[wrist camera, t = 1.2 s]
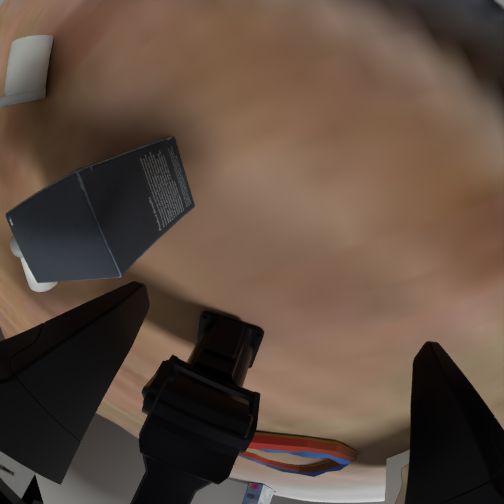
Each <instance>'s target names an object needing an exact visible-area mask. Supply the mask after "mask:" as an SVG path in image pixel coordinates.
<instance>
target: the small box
mask: <svg viewBox="0 0 504 504" xmlns="http://www.w3.org/2000/svg"><path fill="white" fill-rule="evenodd" d="M194 206H195V205H194V201H193V198H192V195H191V191H190V188H189V185H188V182H187V178H186V175H185V171H184V168H183V165H182V161H181V158H180V155H179V151H178V148H177V144H176V140H175V138H174V137H173V136H170V137H167V138H164V139H161V140H158V141H155V142H152V143H149V144H146V145H144V146H141V147H138V148H135V149H132V150H129V151H127V152H124V153H121V154H118V155H116V156H113V157H111V158H108V159H105V160H103V161H101V162H98V163H94V164H92V165H89V166H85V167H82V168H80V169H77V170H75V171H74V172H72V173H70V174H68V175H66V176H64V177H62V178H60V179H59V180H57V181H55V182H53V183H52V184H50V185H48V186H47V187H45V188H43V189H42V190H40V191H38V192H37V193H35V194H34V195H32V196H30V197H29V198H27V199H26V200H25V201H23V202H21V203H20V204H18V205H17V206H15V207H14V208H13V209H11V210H10V211H8V212H7V213H6V215H5V216H6V218H7V221H8V223H9V226H10V228H11V230H12V233H13V235H14V237H15V240H16V242H17V244H18V246H19V249H20V251H21V253H22V255H23V257H24V259H25V261H26V263H27V265H28V267H29V269H30V271H31V272H32V274H33V276H34V278H35V280H36V282H37V283H49V282H63V281H78V280H93V279H108V278H121V277H122V275H123V274H124V273H125V272H126V271H127V270H128V269H129V268H130V267H131V266H132V265H133V264H134V263H135V262H136V261H137V260H138V259H139V258H140V257H141V256H142V255H143V254H144V253H145V252H146V251H147V250H148V249H149V248H150V247H151V246H152V245H153V244H154V243H155V242H156V241H158V240H159V239H160V238H161V237H162V236H163V235H164V234H165V233H166V232H167V231H168V230H169V229H170V228H171V227H172V226H174V225H175V224H176V223H177V222H178V221H179V220H180V219H181V218H182V217H184V216H185V215H186V214H187V213H188V212H189V211H190V210H191V209H192V208H194Z"/></svg>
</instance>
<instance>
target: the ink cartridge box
mask: <svg viewBox="0 0 504 504" xmlns="http://www.w3.org/2000/svg"><path fill="white" fill-rule="evenodd" d="M273 491H274V490H273V489H271V488H269V487H267V486H266V485H264V484H258V483H251V482H249V483H248V487H247V490H246V493H245V496H244V499H243V502H242V504H270V502H271V498H272V495H273Z"/></svg>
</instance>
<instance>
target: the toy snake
mask: <svg viewBox="0 0 504 504" xmlns="http://www.w3.org/2000/svg"><path fill="white" fill-rule="evenodd" d="M248 448H253V449H258V450H261V451H265V452H273V453H289V454H293V455H297V456H301V457H310V458H330V459H331V460H329V461H326V462H323V463H319V464H316V465H306V466H300V465H292V464H285V463H280V462H276V461H272V460H268V459H265V458H263V457H261V456H258V455H256V454H253V453H249V452H244V453H242V454H238V456H241V457H244V458H247V459H249V460H252V461H255V462H258V463H260V464H263V465H266V466H268V467H271V468H274V469H276V470H279V471H282V472H289V473H296V474H302V475H307V476H312V477H314V476H317V475H320V474H323V473H325V472H328V471H338V470H341V469H343V468H344V467H346V466H347V465H348V464H350V463H351V462H352V461H354V460H356V458H357V453H356V452H355V451H354V450H353V449H351V448H349V447H348V446H346V445H344V444H342V443H339V442H337V441H331V440H324V439H317V438H311V437H302V436H292V435H281V434H272V433H263V432H255V434H254V437H253V439H252V441H251V443H250V445H249V447H248ZM234 464H235V463H234ZM235 465H236V464H235Z"/></svg>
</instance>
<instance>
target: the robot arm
mask: <svg viewBox="0 0 504 504" xmlns="http://www.w3.org/2000/svg"><path fill="white" fill-rule="evenodd" d="M148 309H149V299H148V293H147V288H146V286H145V284H143V283H139V282H136V281H133V282H131V283H128V284H126V285H124V286H122V287H120V288H117V289H115V290H113V291H111V292H109V293H106V294H104V295H102V296H100V297H98V298H95V299H93V300H91V301H89V302H87V303H85V304H82V305H80V306H78V307H76V308H74V309H72V310H69V311H67V312H65V313H63V314H61V315H59V316H57V317H55V318H52V319H50V320H48V321H46V322H45V323H42V324H40V325H38V326H36V327H33V328H31V329H29V330H27V331H25V332H23V333H20V334H18V335H15V336H13V337H10V338H8V339H5V340H2V341H0V504H43V500H42V497H41V494H40V490H39V487H38V484H37V479H36V476H35V473H38V474H39V475H41V476H43V477H45V478H47V479H49V480H51V481H54V482H56V483H58V484H61V483H62V481H63V479H64V477H65V475H66V472H67V470H68V468H69V466H70V464H71V461H72V459H73V457H74V455H75V453H76V451H77V449H78V447H79V445H80V441H81V440H82V438H83V436H84V434H85V432H86V430H87V428H88V426H89V424H90V422H91V420H92V418H93V416H94V414H95V412H96V411H97V409H98V407H99V405H100V403H101V401H102V399H103V397H104V395H105V394H106V392H107V390H108V388H109V386H110V384H111V383H112V381H113V379H114V377H115V375H116V374H117V372H118V370H119V368H120V366H121V365H122V363H123V361H124V359H125V358H126V356H127V354H128V352H129V351H130V349H131V347H132V345H133V343H134V341H135V338H136V336H137V334H138V332H139V329H140V327H141V325H142V323H143V321H144V318H145V316H146V314H147V312H148ZM258 333H260V334H258ZM263 335H264V331H263V330H262V329H260V328H257V327H253V326H250V325H247V324H244V323H241V322H238V321H235V320H231V319H228V318H225V317H222V316H219V315H216V314H214V313H211V312H208V311H203V312H202V313H201V315H200V323H199V332H198V341H197V343H196V345H195V347H194V349H193V351H192V353H191V355H190V357H189V359H188V361H187V363H186V362H184V361H182V360H180V359H178V357H176V356H174V355H172V356H171V358H170V359H169V360H166V361H163V362H162V363H161V365H160V367H159V369H158V370H157V372H156V373H155V375H154V376H153V377H152V378H151V379H150V381H149V382H148V383H147V384H146V385H145V386H144V388H143V390H142V395H143V398H144V401H143V404H144V405H143V408H142V412H143V413H145V414H147V415H148V416H147V418H146V420H145V422H144V425H143V427H142V429H141V431H140V434H139V447H140V452H141V453H142V454H143V460H144V464H145V469H146V472H145V474H144V476H143V478H142V480H141V483H140V484H139V486H138V489H137V491H136V493H135V495H134V497H133V499H132V502H131V504H190V503H191V501H192V499H193V497H194V495H195V493H196V492H197V491H198V490H200V489H202V488H204V487H206V486H207V485H209V484H211V483H215V484H220V483H221V482H223V481H224V480H225V479H227V478H228V477H229V475H230V473H231V470H232V468H233V465H234V462H235V460H236V458H237V456H238V454H242V453H244V452H245V451H246V450H247V448H248V447H249V445H250V443H251V441H252V439H253V437H254V434H255V431H256V428H257V421H258V411H259V402H260V393H258V392H253V391H250V390H247V389H245V388H242V387H243V383H244V380H245V377H246V374H247V371H248V368H251V367H252V365H253V362H254V360H255V357H256V354H257V352H258V349H259V346H260V344H261V341H262V338H263ZM404 504H504V430H503V428H502V427H501V425H500V424H499V422H498V421H497V419H496V418H494V415H493V413H492V412H491V411H490V409H489V408H488V406H487V405H486V403H485V402H484V401H483V399H482V398H481V397H480V395H479V394H478V392H477V391H476V390H475V388H474V387H473V386H472V384H471V383H470V382H469V380H468V379H467V378H466V377H465V375H464V374H463V373H462V371H461V370H460V369H459V368H458V366H457V365H456V364H455V363H454V361H453V360H452V359H451V358H450V356H449V355H448V354H447V353H446V352H445V350H444V349H443V348H442V347H441V346H440V344H439V343H437V342H431V341H427V342H426V343H425V344H424V345H423V346H422V348H421V349H420V351H419V352H418V354H417V355H416V356H415V358H414V361H413V373H412V392H411V430H410V455H409V469H408V479H407V488H406V495H405V502H404Z"/></svg>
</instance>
